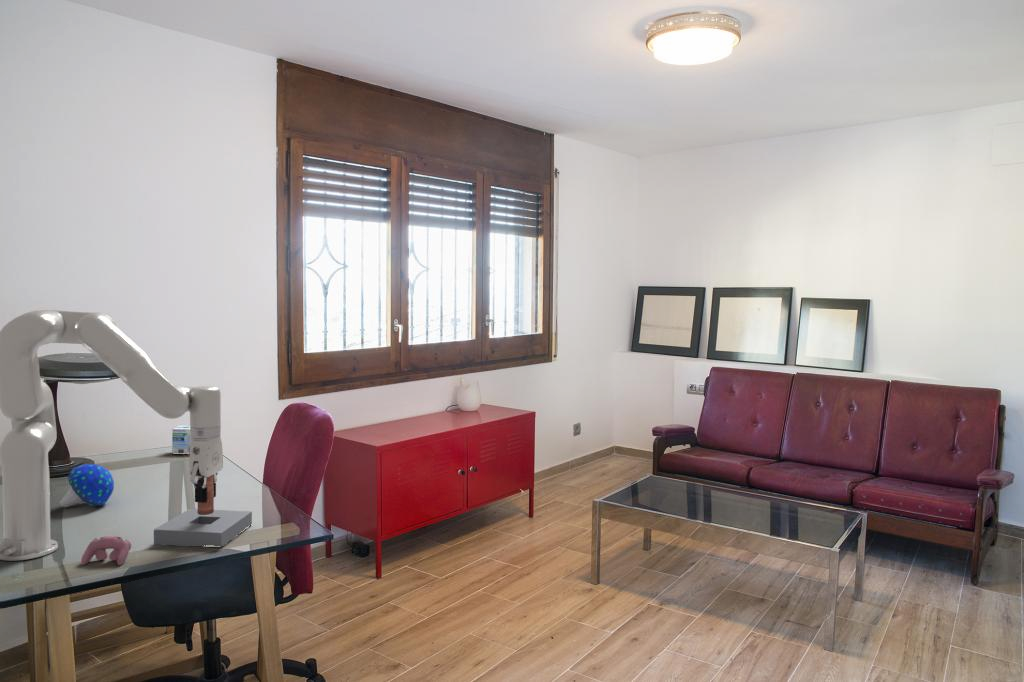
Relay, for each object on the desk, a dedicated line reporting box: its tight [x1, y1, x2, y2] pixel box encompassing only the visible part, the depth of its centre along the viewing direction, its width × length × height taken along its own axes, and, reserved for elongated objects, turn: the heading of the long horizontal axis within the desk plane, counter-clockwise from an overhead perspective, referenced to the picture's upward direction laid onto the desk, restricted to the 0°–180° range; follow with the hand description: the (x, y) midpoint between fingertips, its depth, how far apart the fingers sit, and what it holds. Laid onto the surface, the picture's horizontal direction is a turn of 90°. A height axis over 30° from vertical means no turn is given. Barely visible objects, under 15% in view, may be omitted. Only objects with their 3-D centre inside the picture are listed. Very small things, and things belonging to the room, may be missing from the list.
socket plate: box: [153, 508, 253, 548], centre depth 187 cm, size 18×18×4 cm
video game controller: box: [81, 535, 132, 566], centre depth 167 cm, size 10×5×7 cm, turn 93°
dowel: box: [197, 474, 215, 515], centre depth 187 cm, size 4×4×12 cm
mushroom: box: [59, 463, 115, 508], centre depth 208 cm, size 14×14×15 cm
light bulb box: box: [171, 425, 191, 454], centre depth 279 cm, size 11×7×11 cm, turn 95°
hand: (205, 498), depth 187 cm, fingers closed on dowel, 4 cm apart
